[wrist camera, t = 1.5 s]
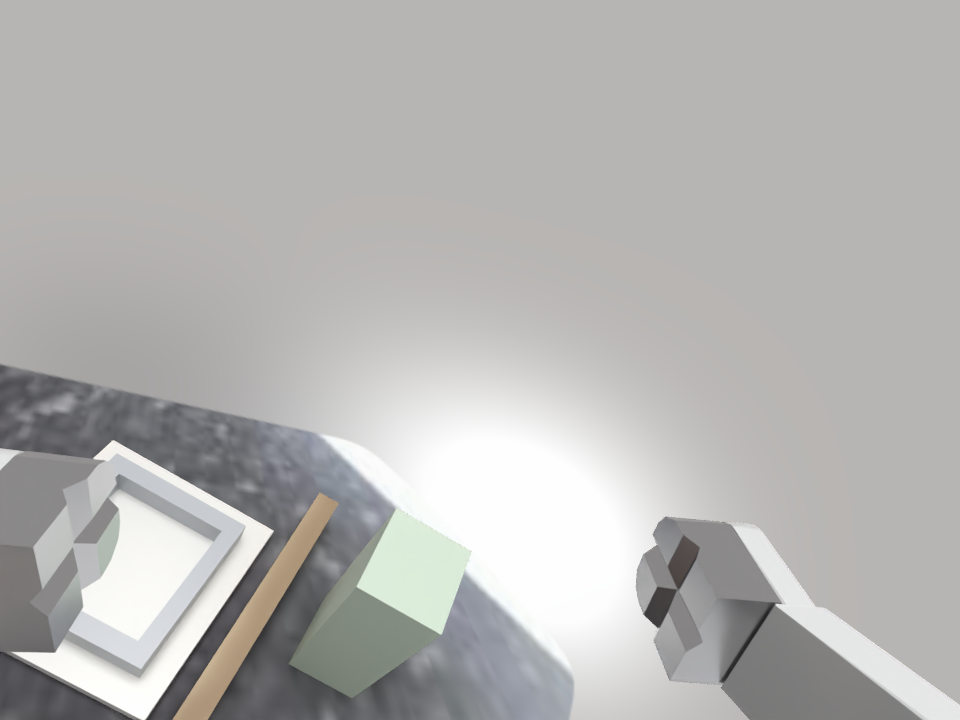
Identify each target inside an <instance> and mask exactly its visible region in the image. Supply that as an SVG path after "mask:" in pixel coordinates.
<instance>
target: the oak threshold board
mask: <svg viewBox="0 0 960 720" xmlns="http://www.w3.org/2000/svg"><path fill="white" fill-rule="evenodd" d="M338 504H339V503H337V502H335V501H334V500H332V499H330V498H328V497H327V496H325V495H323V494H321V493H319V495H318V496H317V498H316V499H315V501H314V502H313V504H312V505H311V507H310V509H309V510H308V512H307V513H306V515H305V516H304V518H303V519H302V521H301V522H300V524H299V526H298V527H297V529H296V530H295V532H294V533H293V535H292V536H291V538H290V539H289V541H288V542H287V544H286V546H285V547H284V549H283V550H282V552H281V553H280V555H279V556H278V558H277V559H276V561H275V563H274V564H273V566H272V567H271V569H270V570H269V572H268V573H267V575H266V576H265V578H264V579H263V581H262V583H261V584H260V586H259V587H258V589H257V590H256V592H255V593H254V595H253V596H252V598H251V600H250V601H249V603H248V604H247V606H246V607H245V609H244V610H243V612H242V613H241V615H240V616H239V618H238V620H237V621H236V623H235V624H234V626H233V627H232V629H231V630H230V632H229V633H228V635H227V637H226V638H225V640H224V641H223V643H222V644H221V646H220V647H219V649H218V650H217V652H216V653H215V655H214V657H213V658H212V660H211V661H210V663H209V664H208V666H207V667H206V669H205V670H204V672H203V674H202V675H201V677H200V678H199V680H198V681H197V683H196V684H195V686H194V687H193V689H192V690H191V692H190V694H189V695H188V697H187V698H186V700H185V701H184V703H183V704H182V706H181V707H180V709H179V711H178V712H177V714H176V715H175V717H174V718H173V720H208V718H209V717H210V715H211V713H212V712H213V710H214V708H215V707H216V705H217V703H218V702H219V700H220V698H221V697H222V695H223V693H224V692H225V690H226V688H227V687H228V685H229V684H230V682H231V680H232V679H233V677H234V675H235V674H236V672H237V670H238V669H239V667H240V665H241V664H242V662H243V660H244V659H245V657H246V656H247V654H248V652H249V651H250V649H251V647H252V646H253V644H254V642H255V641H256V639H257V637H258V636H259V634H260V632H261V631H262V629H263V627H264V626H265V624H266V623H267V621H268V619H269V618H270V616H271V614H272V613H273V611H274V609H275V608H276V606H277V604H278V603H279V601H280V599H281V598H282V596H283V594H284V593H285V591H286V590H287V588H288V586H289V585H290V583H291V581H292V580H293V578H294V576H295V575H296V573H297V571H298V570H299V568H300V566H301V565H302V563H303V561H304V560H305V558H306V557H307V555H308V553H309V552H310V550H311V548H312V547H313V545H314V543H315V542H316V540H317V538H318V537H319V535H320V533H321V532H322V530H323V528H324V527H325V525H326V524H327V522H328V520H329V519H330V517H331V515H332V514H333V512H334V510H335V509H336V507H337V505H338Z"/></svg>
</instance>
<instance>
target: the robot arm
mask: <svg viewBox="0 0 960 720" xmlns="http://www.w3.org/2000/svg"><path fill="white" fill-rule="evenodd" d="M115 485H116V479H115V472H114V466H113V465H112V464H111V463H109V462H108V461H105V460H97V459H89V458H81V457H72V456H64V455H56V454H48V453H39V452H31V451H26V452H23V451H17V450H9V449H1V448H0V652H40V653H55V652H56V650H57V649H58V647H59V646H60V644H61V642H62V641H63V639H64V637H65V636H66V634H67V633H68V631H69V629H70V628H71V626H72V624H73V623H74V621H75V619H76V618H77V616H78V615H79V613H80V611H81V610H82V608H83V600H82V593H81V590H82V589H84V588H85V587H87V586H89V585H90V584H92V583H94V582H95V581H97V580H98V579H100V578H101V577H102V575H103V573H104V572H105V570H106V568H107V566H108V565H109V563H110V561H111V559H112V556H113V553H114V550H115V547H116V544H117V541H118V538H119V529H120V515H119V508H118V507H117V506H116V505H115V504H114V503H113V502H112V501H111V500H110V499H109V498H108V496H109V494H110V493H111V491H112V490H113V488H114V487H115ZM653 536H654V539H655V542H656V544H657V545H656V546H655V547H653V548H652V549H651V550H649V551H648V552H646V553H645V554H644V555H643V557H642V559H641V562H640V564H639V566H638V569H637V578H636V590H637V596H638V601H639V604H640V606H641V609H642V612H643V614H644V615H645V616H646V617H647V618H648V619H649V620H650V621H651V622H652V623H653V624H654V625H655V626H656V627H657V631H656V634H655V638H654V643H655V644H656V647H657V650H658V653H659V655H660V657H661V660H662V663H663V665H664V668H665V670H666V672H667V675H668V678H669V680H670V681H678V682H690V683H704V684H718V685H722V687H721V688H722V689H723V690H724V691H725V693H726V694H727V695H728V696H729V697H730V698H731V699H732V700H733V701H734V703H735V704H736V705H737V706H738V707H739V708H740V709H741V710H742V712H743V713H744V714H745V715H746V716H747V717H748V718H749V719H750V720H960V705H959V704H957V703H956V702H955V701H953V700H952V699H951V698H949V697H948V696H946V695H945V694H944V693H942V692H941V691H939V690H938V689H937V688H935V687H934V686H933V685H931V684H930V683H928V682H927V681H926V680H924V679H923V678H921V677H920V676H919V675H917V674H916V673H914V672H913V671H912V670H910V669H909V668H908V667H906V666H905V665H903V664H902V663H900V662H899V661H898V660H896V659H895V658H894V657H892V656H891V655H889V654H888V653H887V652H885V651H884V650H883V649H881V648H880V647H878V646H877V645H876V644H874V643H873V642H871V641H870V640H868V639H867V638H866V637H864V636H863V635H861V634H860V633H859V632H858V631H856V630H855V629H853V628H852V627H851V626H849V625H848V624H846V623H845V622H844V621H842V620H841V619H840V618H838V617H837V616H835V615H834V614H832V613H831V612H830V611H828V610H827V609H826V608H821V607H815V605H814V604H813V603H812V601H811V600H810V598H809V597H808V595H807V594H806V593H805V591H804V590H803V588H802V587H801V586H800V584H799V583H798V581H797V580H796V579H795V577H794V576H793V574H792V573H791V572H790V570H789V569H788V567H787V566H786V564H785V563H784V562H783V560H782V559H781V557H780V556H779V555H778V553H777V552H776V550H775V549H774V548H773V546H772V545H771V543H770V542H769V541H768V539H767V538H766V537H765V535H764V533H763V532H762V531H761V530H760V529H759V528H757V527H756V526H754V525H753V524H749V523H748V524H747V523H736V522H718V521H706V520H696V519H685V518H674V517H665V518H664V519H662V520H661V521H660V522H659V523H658V525H657V527H656V529H655V531H654V533H653Z"/></svg>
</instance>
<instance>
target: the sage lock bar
mask: <svg viewBox="0 0 960 720" xmlns="http://www.w3.org/2000/svg"><path fill="white" fill-rule="evenodd" d="M470 554H471V551H470V550H468V549H466V548H465V547H463V546H461V545H460V544H458V543H456V542H454V541H453V540H451V539H449V538H448V537H446V536H444V535H442V534H441V533H439V532H437V531H436V530H434V529H432V528H430V527H429V526H427V525H425V524H424V523H422V522H420V521H418V520H417V519H415V518H413V517H412V516H410V515H408V514H406V513H405V512H403V511H401V510H399V509H398V508H396V509H395V510H394V512H393V513H392V514H391V515H390V517H389V518H388V519H387V520H386V522H385V523H384V524H383V525H382V527H381V528H380V529H379V530H378V532H377V533H376V534H375V535H374V537H373V538H372V539H371V540H370V541H369V543H368V544H367V545H366V546H365V548H364V549H363V550H362V551H361V553H360V554H359V555H358V556H357V558H356V559H355V560H354V561H353V563H352V564H351V565H350V566H349V568H348V569H347V570H346V571H345V573H344V574H343V575H342V576H341V578H340V579H339V580H338V581H337V583H336V584H335V585H334V586H333V588H332V589H331V590H330V591H329V593H328V594H327V595H326V596H325V598H324V600H323V602H322V603H321V605H320V607H319V609H318V611H317V613H316V614H315V616H314V618H313V620H312V622H311V624H310V625H309V627H308V629H307V631H306V633H305V635H304V636H303V638H302V640H301V642H300V644H299V646H298V647H297V649H296V651H295V653H294V655H293V657H292V658H291V660H290V662H289V665H291V666H293V667H295V668H297V669H299V670H300V671H302V672H304V673H306V674H308V675H310V676H311V677H313V678H315V679H317V680H319V681H321V682H322V683H324V684H326V685H328V686H330V687H332V688H334V689H335V690H337V691H339V692H341V693H343V694H345V695H346V696H348V697H350V698H353V697H355V696H356V695H358V694H359V693H360V692H362V691H363V690H365V689H366V688H367V687H369V686H370V685H372V684H373V683H374V682H376V681H377V680H379V679H380V678H381V677H383V676H384V675H386V674H387V673H388V672H390V671H391V670H393V669H394V668H395V667H397V666H398V665H400V664H401V663H403V662H404V661H405V660H407V659H408V658H410V657H411V656H412V655H414V654H415V653H417V652H418V651H419V650H421V649H422V648H424V647H425V646H426V645H428V644H429V643H431V642H432V641H433V640H435V639H436V638H438V637H439V636H440V635H441V634H442V632H443V629H444V626H445V623H446V621H447V618H448V615H449V612H450V609H451V607H452V604H453V601H454V598H455V596H456V593H457V590H458V587H459V584H460V582H461V579H462V576H463V573H464V571H465V568H466V565H467V562H468V559H469V557H470Z"/></svg>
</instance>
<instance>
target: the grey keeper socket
mask: <svg viewBox="0 0 960 720" xmlns="http://www.w3.org/2000/svg"><path fill="white" fill-rule="evenodd" d="M93 459H97V460H105V461H108V462H109V463H111V464H112V465H113V466H114V472H115V479H116V485H115V487H114V488H113V490H112V491H111V493H110V494H109V496H108V498H109V499H110V500H111V501H112V502H113V503H114V504H115V505H116V506H117V507H118V508H119V515H120V529H119V538H118V541H117V544H116V547H115V550H114V553H113V556H112V559H111V561H110V563H109V565H108V566H107V568H106V570H105V572H104V573H103V575H102V577H101V578H100V579H98V580H97V581H95V582H94V583H92V584H90V585H89V586H87V587H85V588H84V589H82V590H81V593H82V600H83V608H82V610H81V611H80V613H79V615H78V616H77V618H76V619H75V621H74V623H73V624H72V626H71V628H70V629H69V631H68V633H67V634H66V636H65V637H64V639H63V641H62V642H61V644H60V646H59V647H58V649H57V650H56V652H55V653H40V652H4V653H6V654H8V655H10V656H12V657H14V658H16V659H18V660H20V661H22V662H24V663H25V664H27V665H29V666H31V667H33V668H35V669H37V670H39V671H41V672H43V673H45V674H47V675H49V676H51V677H52V678H54V679H56V680H58V681H60V682H62V683H64V684H66V685H68V686H70V687H72V688H74V689H76V690H77V691H79V692H81V693H83V694H85V695H87V696H89V697H91V698H93V699H95V700H97V701H99V702H101V703H102V704H104V705H106V706H108V707H110V708H112V709H114V710H116V711H118V712H120V713H122V714H124V715H126V716H128V717H129V718H131V719H133V720H147V718H148V717H149V715H150V714H151V712H152V711H153V709H154V708H155V706H156V705H157V704H158V702H159V701H160V699H161V698H162V696H163V695H164V693H165V692H166V690H167V689H168V687H169V686H170V684H171V683H172V681H173V680H174V679H175V677H176V676H177V674H178V673H179V671H180V670H181V668H182V667H183V665H184V664H185V662H186V661H187V659H188V658H189V656H190V655H191V654H192V652H193V651H194V649H195V648H196V646H197V645H198V643H199V642H200V640H201V639H202V637H203V636H204V634H205V633H206V632H207V630H208V629H209V627H210V626H211V624H212V623H213V621H214V620H215V618H216V617H217V615H218V614H219V612H220V611H221V609H222V608H223V607H224V605H225V604H226V602H227V601H228V599H229V598H230V596H231V595H232V593H233V592H234V590H235V589H236V587H237V586H238V584H239V583H240V582H241V580H242V579H243V577H244V576H245V574H246V573H247V571H248V570H249V568H250V567H251V565H252V564H253V562H254V561H255V559H256V558H257V557H258V555H259V554H260V552H261V551H262V549H263V548H264V546H265V545H266V543H267V542H268V540H269V539H270V537H271V536H272V534H273V532H274V531H273V530H271V529H269V528H268V527H266V526H264V525H262V524H261V523H259V522H257V521H255V520H254V519H252V518H250V517H248V516H246V515H245V514H243V513H241V512H239V511H238V510H236V509H234V508H232V507H231V506H229V505H227V504H225V503H224V502H222V501H220V500H218V499H216V498H215V497H213V496H211V495H209V494H208V493H206V492H204V491H202V490H201V489H199V488H197V487H195V486H193V485H192V484H190V483H188V482H186V481H185V480H183V479H181V478H179V477H178V476H176V475H174V474H172V473H170V472H169V471H167V470H165V469H163V468H162V467H160V466H158V465H156V464H155V463H153V462H151V461H149V460H147V459H146V458H144V457H142V456H140V455H139V454H137V453H135V452H133V451H132V450H130V449H128V448H126V447H124V446H123V445H121V444H119V443H117V442H116V441H114V440H113V441H112V442H111V443H110V444H108V445H107V446H106V447H105V448H104V449H103V450H102V451H101V452H100V453H99V454H98V455H96V456H95V457H94V458H93Z"/></svg>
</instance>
